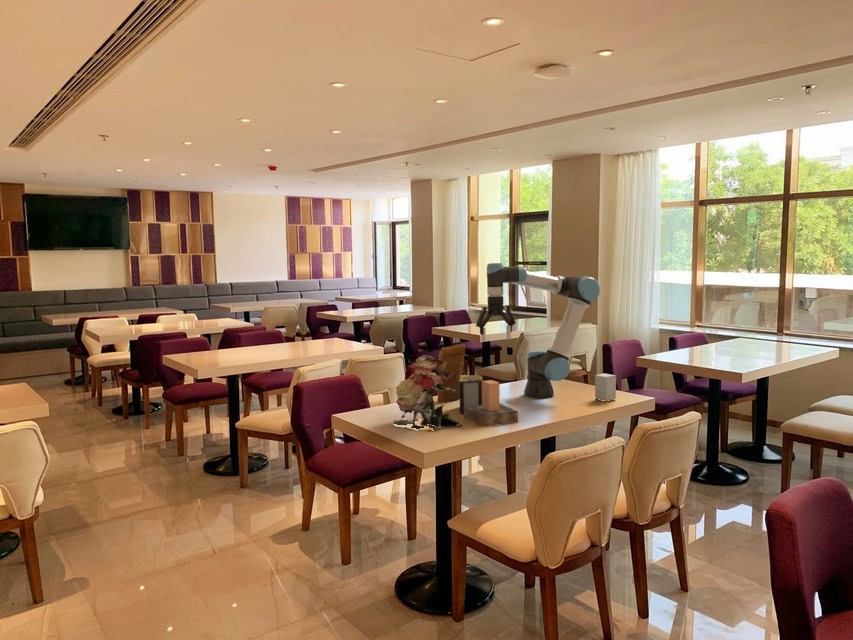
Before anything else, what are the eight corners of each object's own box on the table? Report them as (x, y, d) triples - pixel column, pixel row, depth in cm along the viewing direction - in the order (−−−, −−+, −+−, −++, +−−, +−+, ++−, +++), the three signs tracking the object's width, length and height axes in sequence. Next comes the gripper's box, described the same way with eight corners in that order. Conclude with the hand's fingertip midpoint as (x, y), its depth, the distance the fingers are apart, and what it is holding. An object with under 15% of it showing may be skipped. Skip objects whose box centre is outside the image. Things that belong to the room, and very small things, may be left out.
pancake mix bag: (469, 398, 319) (469, 343, 317) (441, 404, 308) (440, 347, 305) (460, 396, 325) (460, 342, 322) (432, 402, 313) (431, 346, 310)
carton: (499, 410, 272) (499, 382, 271) (489, 411, 271) (489, 383, 270) (492, 406, 279) (492, 380, 278) (481, 407, 277) (481, 381, 276)
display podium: (500, 414, 286) (500, 403, 285) (517, 422, 271) (517, 411, 270) (464, 418, 279) (464, 407, 279) (480, 426, 264) (480, 415, 264)
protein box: (482, 407, 301) (482, 374, 300) (482, 414, 286) (482, 381, 284) (460, 406, 302) (460, 374, 300) (459, 414, 287) (459, 380, 285)
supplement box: (616, 400, 311) (616, 375, 310) (606, 402, 307) (606, 376, 306) (604, 397, 317) (604, 373, 316) (594, 399, 313) (594, 374, 312)
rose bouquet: (422, 414, 289) (421, 349, 286) (469, 425, 268) (468, 355, 265) (378, 424, 271) (377, 355, 268) (425, 437, 250) (424, 362, 247)
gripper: (514, 294, 306) (514, 337, 308) (468, 296, 296) (469, 341, 298) (522, 294, 299) (523, 339, 301) (475, 297, 289) (476, 343, 291)
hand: (496, 340), depth 300 cm, fingers open, 13 cm apart
